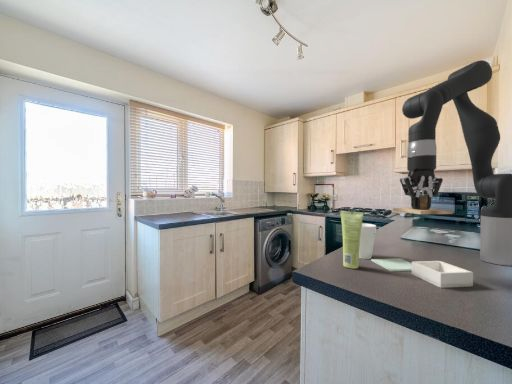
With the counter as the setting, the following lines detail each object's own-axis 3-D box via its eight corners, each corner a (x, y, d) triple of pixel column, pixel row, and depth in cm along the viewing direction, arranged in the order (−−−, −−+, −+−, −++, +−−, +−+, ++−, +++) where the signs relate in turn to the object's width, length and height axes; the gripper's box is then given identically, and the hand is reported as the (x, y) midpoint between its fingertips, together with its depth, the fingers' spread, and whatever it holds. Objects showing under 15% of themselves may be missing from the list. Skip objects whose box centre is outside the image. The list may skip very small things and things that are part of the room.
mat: (400, 259, 85) (400, 258, 85) (424, 270, 74) (424, 268, 74) (371, 260, 84) (371, 259, 84) (391, 271, 73) (391, 269, 73)
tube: (352, 263, 81) (352, 210, 80) (363, 268, 76) (363, 212, 76) (339, 265, 79) (340, 211, 78) (350, 270, 74) (350, 212, 74)
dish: (439, 272, 72) (440, 260, 72) (472, 286, 62) (473, 272, 62) (411, 273, 71) (411, 261, 71) (440, 287, 61) (440, 273, 61)
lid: (421, 210, 77) (421, 195, 77) (453, 213, 66) (453, 196, 66) (393, 210, 76) (393, 195, 76) (420, 214, 65) (420, 196, 65)
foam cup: (379, 261, 83) (379, 227, 83) (353, 259, 85) (353, 226, 85) (371, 253, 93) (371, 223, 93) (348, 252, 95) (348, 222, 94)
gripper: (430, 157, 75) (429, 207, 76) (392, 157, 74) (392, 208, 74) (452, 154, 68) (451, 209, 68) (411, 153, 66) (410, 210, 66)
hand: (420, 208), depth 71 cm, fingers closed on lid, 3 cm apart
